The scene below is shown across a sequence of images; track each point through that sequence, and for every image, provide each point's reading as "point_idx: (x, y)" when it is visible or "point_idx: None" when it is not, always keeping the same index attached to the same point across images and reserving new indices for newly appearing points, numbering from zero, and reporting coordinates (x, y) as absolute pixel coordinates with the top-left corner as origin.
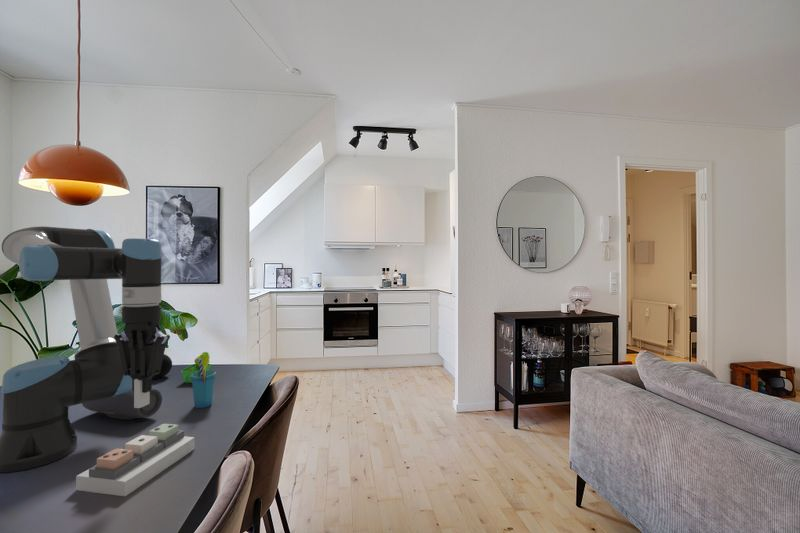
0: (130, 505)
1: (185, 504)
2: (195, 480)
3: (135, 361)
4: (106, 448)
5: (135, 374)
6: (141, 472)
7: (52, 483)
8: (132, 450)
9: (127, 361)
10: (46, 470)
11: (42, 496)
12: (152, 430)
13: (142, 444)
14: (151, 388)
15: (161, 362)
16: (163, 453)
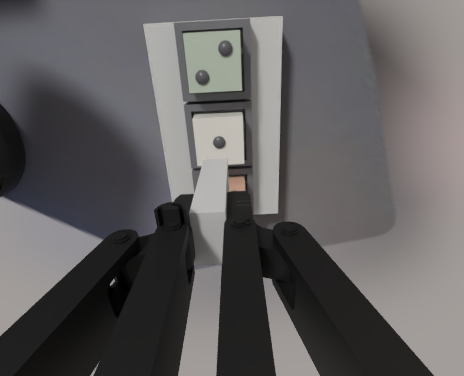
0: (300, 214)
1: (385, 195)
2: (363, 138)
3: (180, 346)
4: (56, 74)
5: (192, 277)
6: (278, 182)
7: (117, 200)
8: (244, 186)
9: (105, 340)
10: (53, 174)
11: (146, 226)
12: (195, 87)
13: (242, 159)
14: (250, 197)
15: (342, 277)
16: (266, 117)
